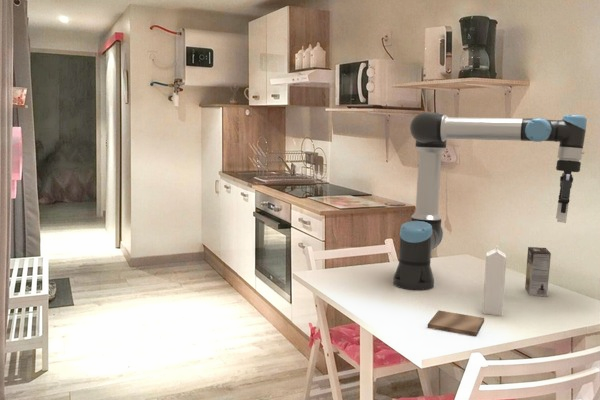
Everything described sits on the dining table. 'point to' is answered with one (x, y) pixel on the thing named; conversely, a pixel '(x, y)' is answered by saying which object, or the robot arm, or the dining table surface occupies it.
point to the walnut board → (456, 323)
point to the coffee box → (537, 271)
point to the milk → (494, 282)
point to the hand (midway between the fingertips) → (560, 220)
